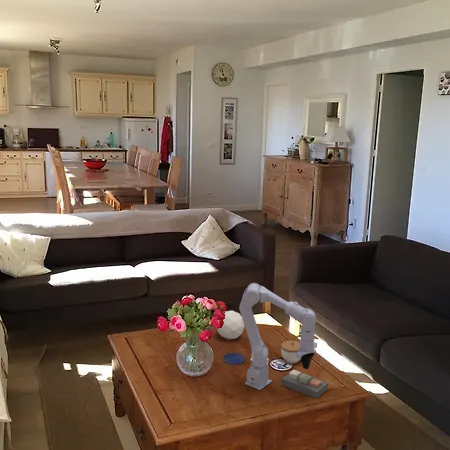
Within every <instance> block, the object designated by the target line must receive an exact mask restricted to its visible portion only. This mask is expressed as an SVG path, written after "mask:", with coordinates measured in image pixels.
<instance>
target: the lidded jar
mask: <svg viewBox="0 0 450 450" xmlns="http://www.w3.org/2000/svg"><path fill="white" fill-rule="evenodd" d="M299 348H300V341H296V340H285V341H283V342H282V343H281V344H280V351H281V357H282V358H283V360H284V361H285V360H286V361H287V362H286V361H285V362H286V363H288V362H289V363H288V364H297V363H298V362H299V361H301V359H298V358H296V353H297V352H298V350H299Z"/></svg>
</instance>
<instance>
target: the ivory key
mask: <svg viewBox="0 0 450 450" xmlns="http://www.w3.org/2000/svg"><path fill="white" fill-rule="evenodd" d="M301 373H302V372H301V371H300V370H299V371H298V370H296V369H292V370H291V371H289V372H288V374H289V378H291V379H294V380H298V379H299V376H301Z"/></svg>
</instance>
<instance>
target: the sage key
mask: <svg viewBox="0 0 450 450" xmlns="http://www.w3.org/2000/svg"><path fill="white" fill-rule="evenodd" d="M302 373H303V372H302ZM311 377H312V375H308V374H307V373H303V374H302V375H301V376H299V382H302V383H305V384H308V383H309V382H310V381H311Z"/></svg>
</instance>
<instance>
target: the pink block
mask: <svg viewBox="0 0 450 450" xmlns="http://www.w3.org/2000/svg"><path fill="white" fill-rule="evenodd" d="M322 381H323V380H322ZM322 381H319V380H316V379H312V380H311V381H310V382H309V385H310V386H312V387H315V388H319V387H320V386H321V384H322Z"/></svg>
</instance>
